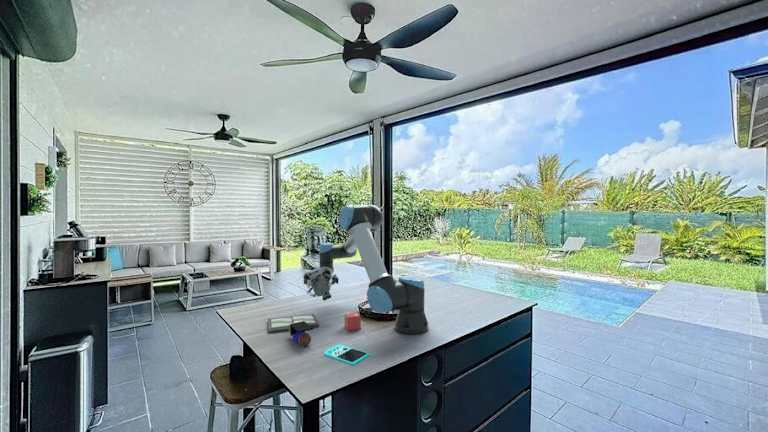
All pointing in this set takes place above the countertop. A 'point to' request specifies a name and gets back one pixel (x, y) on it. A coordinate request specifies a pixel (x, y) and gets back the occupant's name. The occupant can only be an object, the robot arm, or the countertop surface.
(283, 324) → the divided rectangular tray
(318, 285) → the figurine
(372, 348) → the countertop surface
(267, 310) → the countertop surface
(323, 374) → the countertop surface
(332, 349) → the handheld game console
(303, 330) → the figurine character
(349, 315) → the red die
